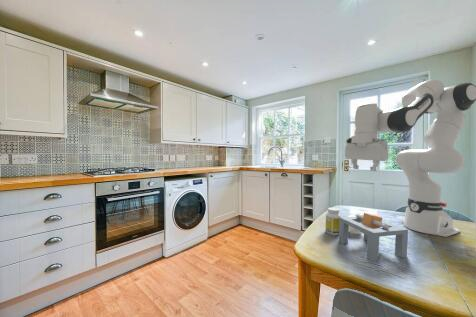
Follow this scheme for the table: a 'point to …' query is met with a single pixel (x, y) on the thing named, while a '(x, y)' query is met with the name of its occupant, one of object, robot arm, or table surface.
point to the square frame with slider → (375, 235)
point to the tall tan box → (370, 221)
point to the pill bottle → (332, 221)
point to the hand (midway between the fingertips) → (364, 170)
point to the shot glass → (353, 230)
